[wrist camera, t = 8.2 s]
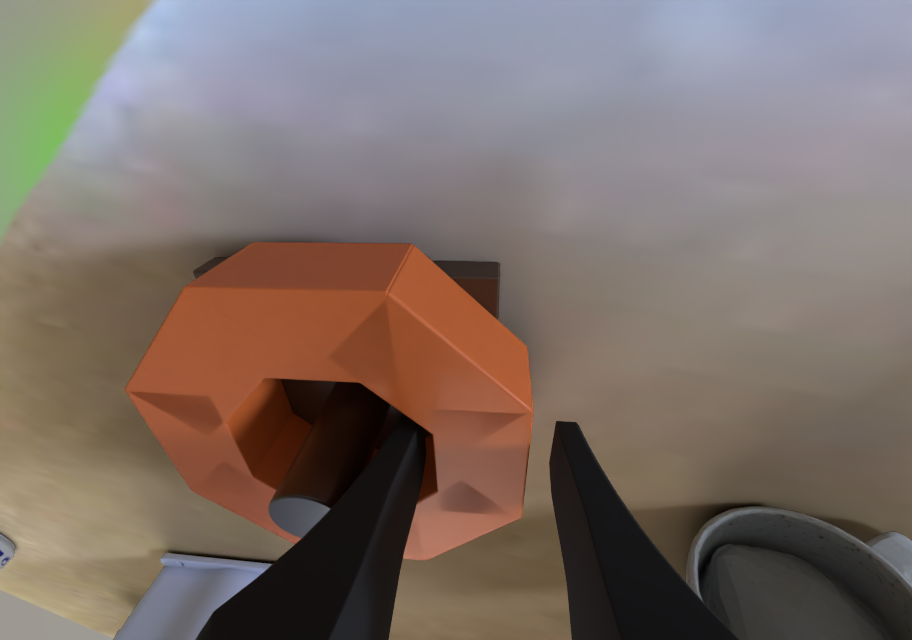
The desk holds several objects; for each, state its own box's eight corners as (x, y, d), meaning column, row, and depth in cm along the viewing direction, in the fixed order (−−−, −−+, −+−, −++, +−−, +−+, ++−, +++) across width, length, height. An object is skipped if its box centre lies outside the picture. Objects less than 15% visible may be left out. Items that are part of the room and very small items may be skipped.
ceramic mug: (662, 591, 22) (731, 800, 16) (659, 510, 18) (750, 748, 12) (880, 582, 20) (1068, 826, 13) (931, 487, 16) (1237, 770, 9)
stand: (288, 445, 19) (205, 587, 13) (214, 256, 13) (29, 368, 8) (492, 460, 18) (488, 619, 12) (500, 261, 12) (498, 394, 7)
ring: (263, 478, 18) (224, 542, 16) (148, 240, 12) (52, 284, 9) (514, 498, 17) (516, 570, 14) (536, 244, 11) (546, 294, 8)
